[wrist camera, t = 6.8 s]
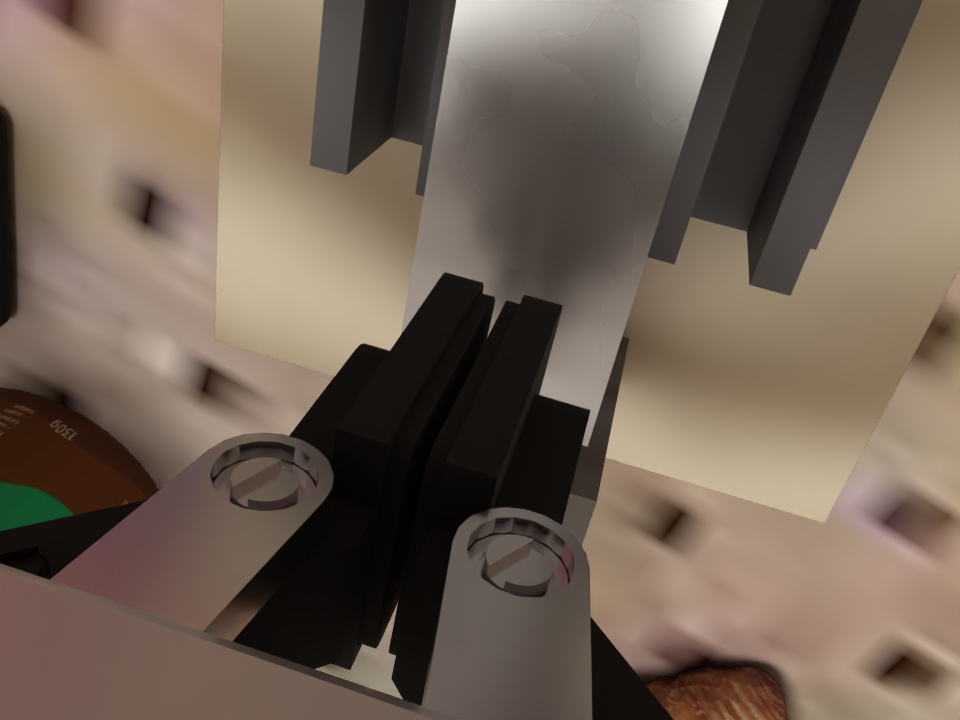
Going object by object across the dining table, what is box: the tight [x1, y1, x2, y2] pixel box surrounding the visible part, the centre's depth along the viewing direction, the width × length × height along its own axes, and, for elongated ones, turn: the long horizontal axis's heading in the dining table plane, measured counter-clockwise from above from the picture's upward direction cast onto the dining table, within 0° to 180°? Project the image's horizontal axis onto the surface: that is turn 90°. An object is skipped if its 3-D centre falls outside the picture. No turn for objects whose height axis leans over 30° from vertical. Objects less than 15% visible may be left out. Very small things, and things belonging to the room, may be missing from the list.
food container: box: [0, 388, 159, 531], centre depth 25 cm, size 12×6×10 cm, turn 4°
